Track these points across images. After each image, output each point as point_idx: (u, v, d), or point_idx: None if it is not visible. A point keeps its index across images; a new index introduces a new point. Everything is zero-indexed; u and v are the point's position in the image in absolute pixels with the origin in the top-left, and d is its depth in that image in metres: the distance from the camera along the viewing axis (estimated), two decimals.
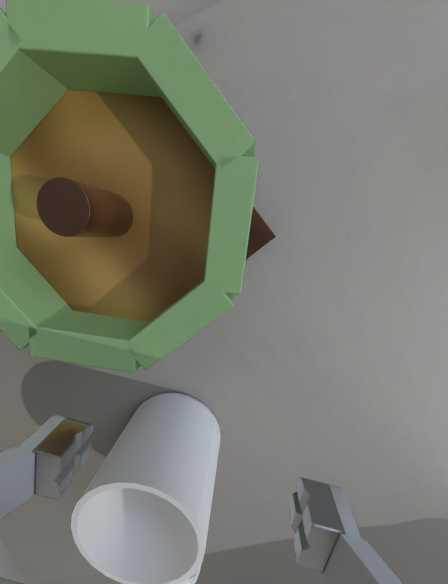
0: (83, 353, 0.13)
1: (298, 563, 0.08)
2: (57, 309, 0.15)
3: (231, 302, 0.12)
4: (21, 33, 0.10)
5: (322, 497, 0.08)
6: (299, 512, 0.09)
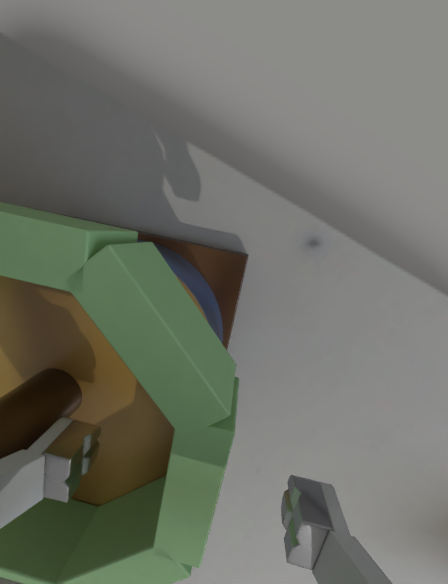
0: None
1: (288, 561, 0.08)
2: None
3: None
4: (87, 289, 0.07)
5: (313, 495, 0.08)
6: (290, 509, 0.09)
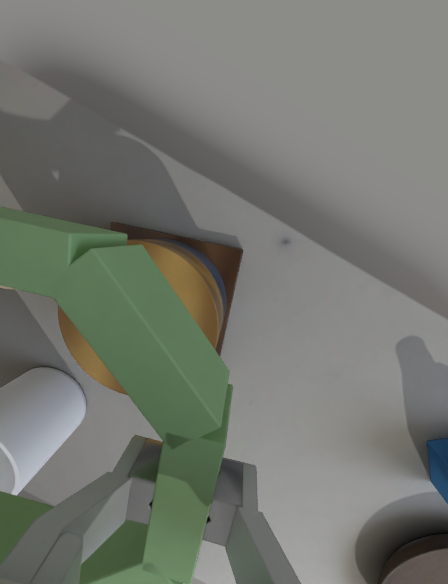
0: None
1: (202, 538, 0.08)
2: None
3: None
4: (70, 295, 0.07)
5: (231, 474, 0.08)
6: None
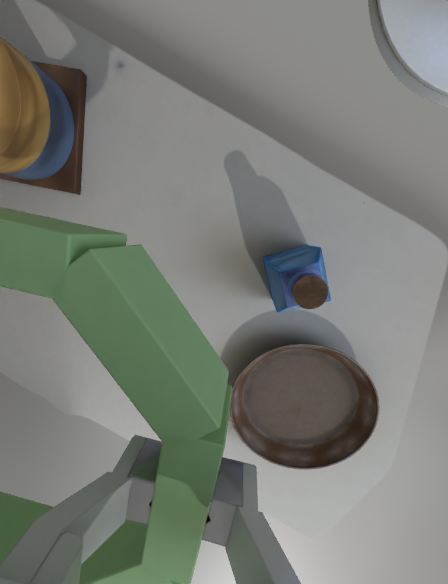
0: None
1: (203, 538, 0.08)
2: None
3: None
4: (69, 295, 0.07)
5: (231, 474, 0.08)
6: None
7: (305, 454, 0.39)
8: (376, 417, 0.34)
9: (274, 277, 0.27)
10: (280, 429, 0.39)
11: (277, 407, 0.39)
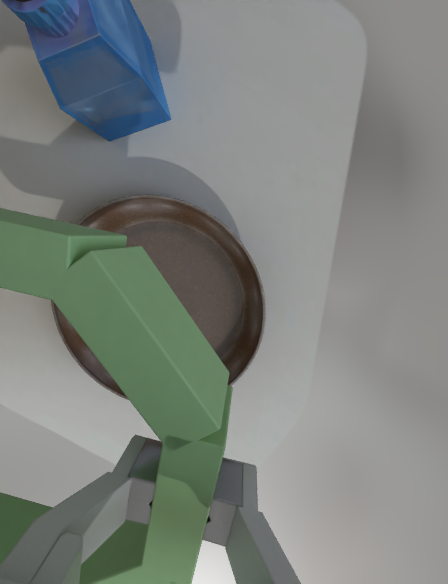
0: None
1: None
2: None
3: None
4: (69, 297, 0.07)
5: (231, 474, 0.08)
6: None
7: None
8: (262, 318, 0.22)
9: None
10: None
11: None
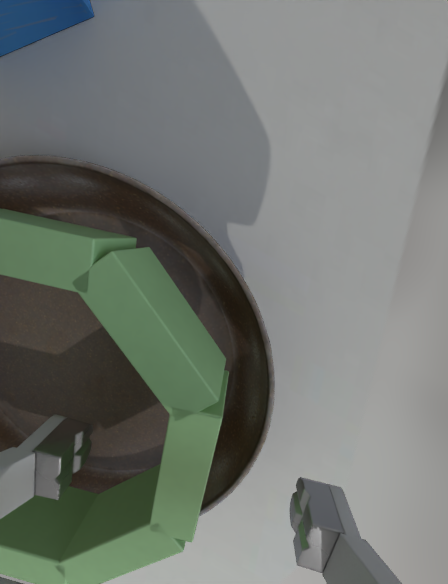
0: None
1: (298, 563, 0.08)
2: None
3: None
4: (92, 290, 0.08)
5: (322, 497, 0.08)
6: (299, 511, 0.09)
7: None
8: (269, 399, 0.12)
9: None
10: None
11: (50, 378, 0.16)
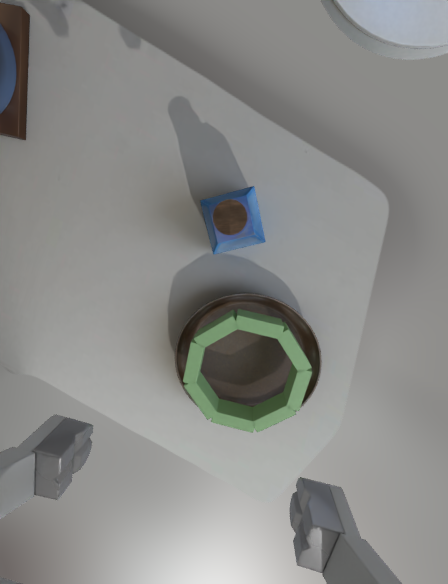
0: (200, 402, 0.34)
1: (298, 563, 0.08)
2: (199, 372, 0.35)
3: None
4: (281, 338, 0.31)
5: (322, 497, 0.08)
6: (299, 511, 0.09)
7: None
8: (319, 370, 0.34)
9: (206, 214, 0.27)
10: (229, 387, 0.39)
11: (225, 364, 0.38)
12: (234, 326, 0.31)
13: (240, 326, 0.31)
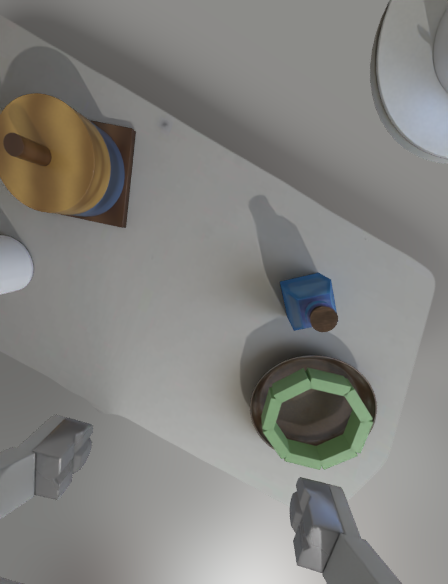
0: (276, 445, 0.40)
1: (297, 563, 0.08)
2: None
3: (320, 468, 0.41)
4: (348, 396, 0.37)
5: (322, 497, 0.08)
6: (299, 511, 0.09)
7: None
8: (375, 417, 0.41)
9: (293, 303, 0.34)
10: (292, 427, 0.46)
11: (290, 408, 0.45)
12: (308, 386, 0.38)
13: (313, 386, 0.37)
